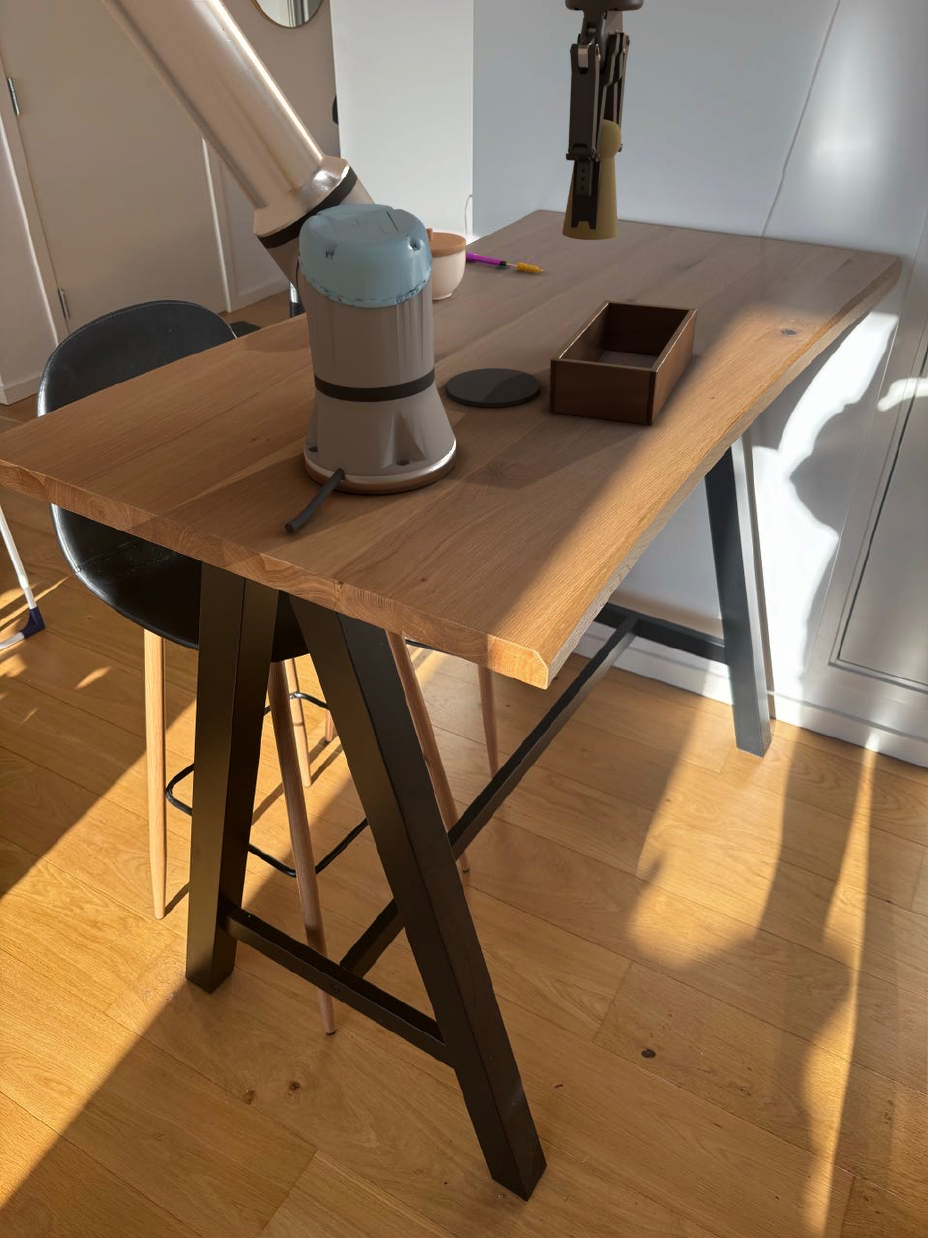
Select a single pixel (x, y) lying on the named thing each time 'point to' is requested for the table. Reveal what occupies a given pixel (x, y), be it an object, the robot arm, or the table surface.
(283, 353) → the table surface
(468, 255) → the multicoloured piece
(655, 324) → the box
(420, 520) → the table surface
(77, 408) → the table surface
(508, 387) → the coaster
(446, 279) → the trinket box
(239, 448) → the table surface
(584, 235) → the cork
